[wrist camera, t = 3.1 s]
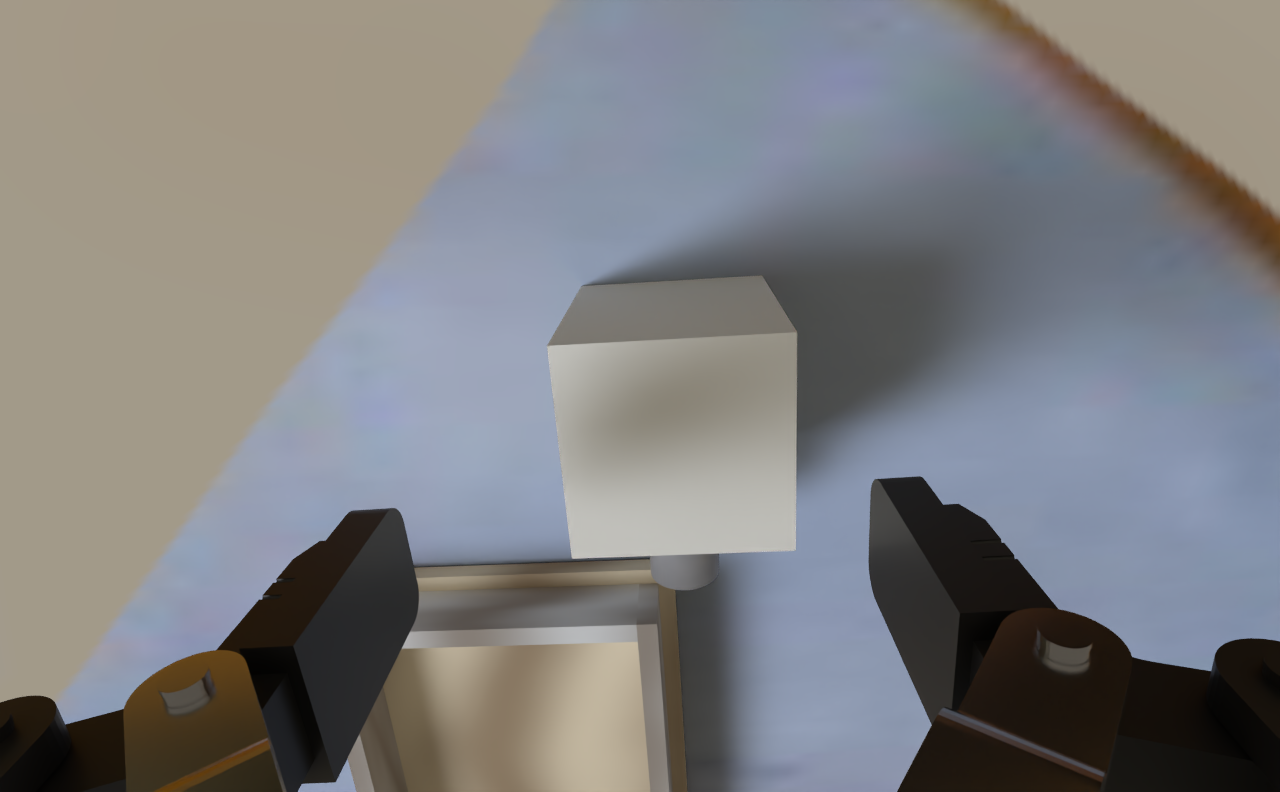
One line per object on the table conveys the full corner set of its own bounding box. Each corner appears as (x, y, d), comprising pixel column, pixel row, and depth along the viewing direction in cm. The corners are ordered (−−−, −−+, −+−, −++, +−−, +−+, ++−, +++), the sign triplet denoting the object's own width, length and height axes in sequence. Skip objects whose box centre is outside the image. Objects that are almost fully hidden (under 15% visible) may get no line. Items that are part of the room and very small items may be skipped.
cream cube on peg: (761, 274, 20) (797, 332, 14) (764, 500, 22) (795, 625, 17) (581, 285, 20) (546, 345, 15) (603, 506, 23) (580, 631, 17)
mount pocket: (673, 558, 23) (673, 609, 21) (688, 816, 27) (690, 885, 24) (332, 570, 24) (294, 621, 21) (395, 821, 28) (368, 888, 25)
